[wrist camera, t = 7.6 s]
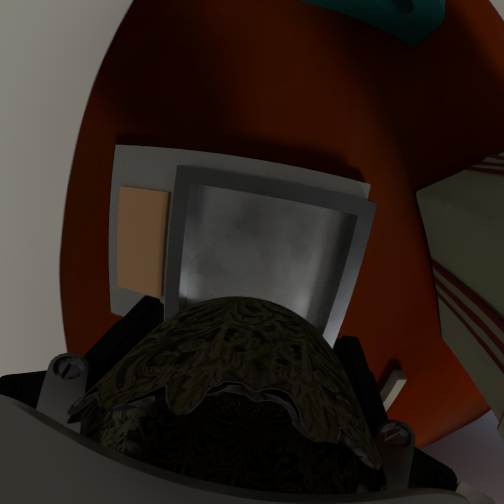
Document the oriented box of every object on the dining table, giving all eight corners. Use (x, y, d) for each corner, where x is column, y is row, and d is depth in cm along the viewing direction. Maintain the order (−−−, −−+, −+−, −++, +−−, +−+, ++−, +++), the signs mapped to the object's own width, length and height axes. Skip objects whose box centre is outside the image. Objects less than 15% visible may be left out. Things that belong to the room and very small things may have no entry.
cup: (369, 279, 10) (464, 446, 3) (299, 402, 13) (298, 544, 5) (187, 219, 10) (23, 330, 3) (159, 359, 13) (85, 487, 5)
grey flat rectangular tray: (317, 353, 22) (320, 376, 19) (116, 307, 23) (99, 323, 20) (366, 183, 18) (380, 186, 15) (122, 145, 19) (100, 143, 16)
